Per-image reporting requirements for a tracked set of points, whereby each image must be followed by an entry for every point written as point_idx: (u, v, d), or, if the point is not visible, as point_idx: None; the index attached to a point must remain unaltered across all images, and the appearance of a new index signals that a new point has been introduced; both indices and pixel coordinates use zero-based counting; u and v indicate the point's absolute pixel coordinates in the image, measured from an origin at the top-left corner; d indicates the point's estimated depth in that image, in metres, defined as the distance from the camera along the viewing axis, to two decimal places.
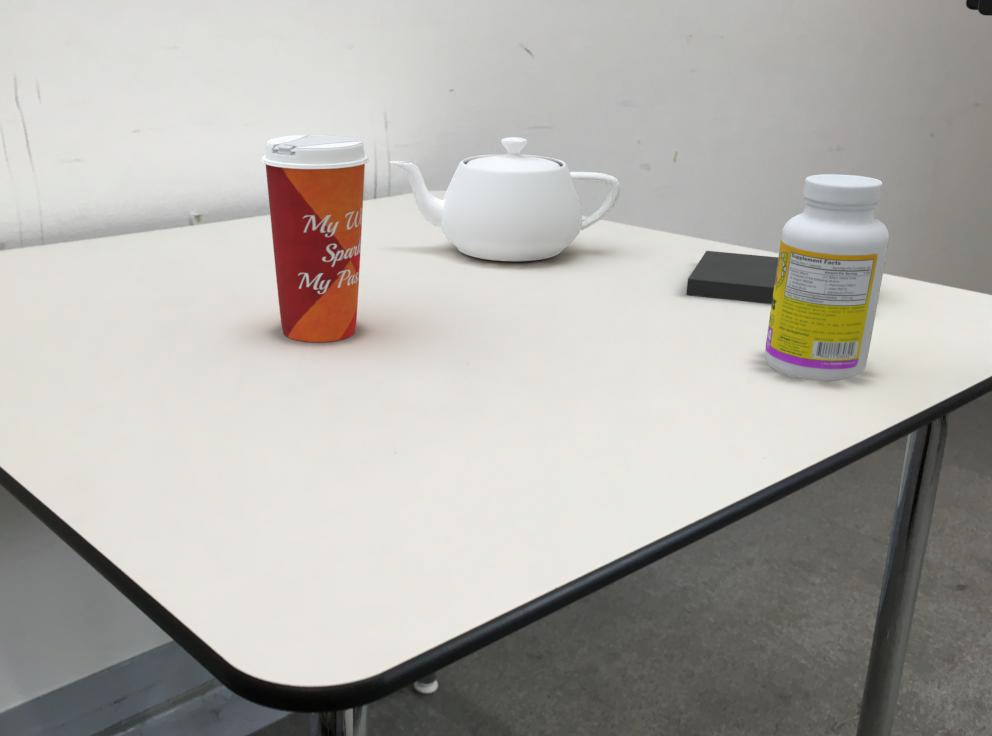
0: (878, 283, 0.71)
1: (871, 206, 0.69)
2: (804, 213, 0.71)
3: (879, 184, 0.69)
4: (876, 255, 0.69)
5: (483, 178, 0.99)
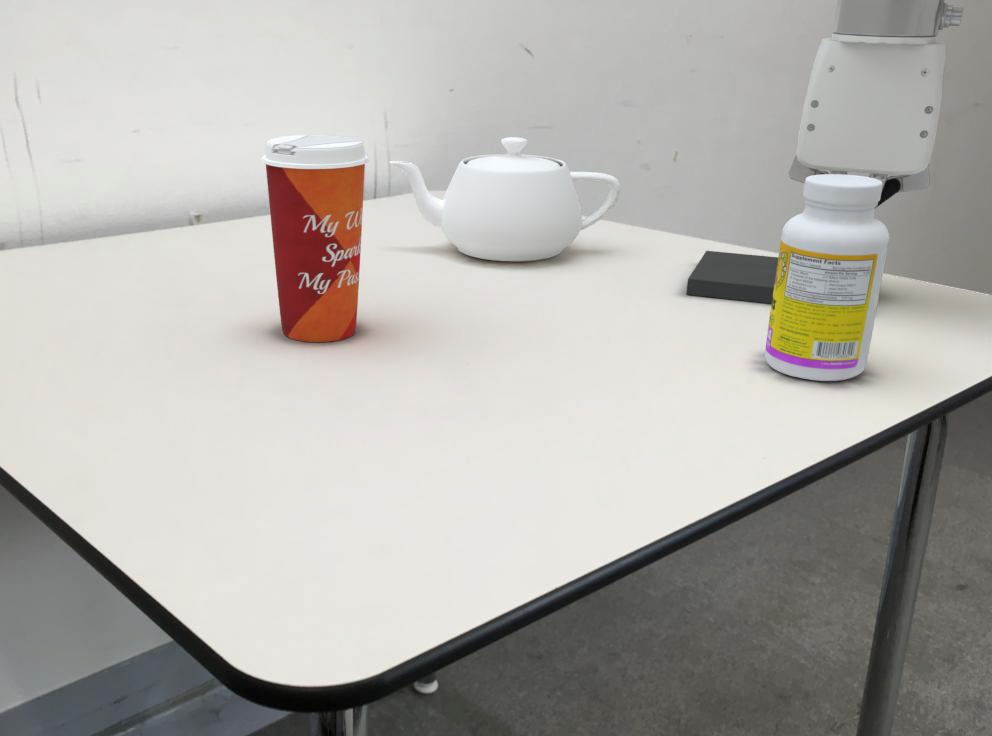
0: (878, 283, 0.71)
1: (871, 206, 0.69)
2: (804, 213, 0.71)
3: (879, 184, 0.69)
4: (876, 255, 0.69)
5: (483, 178, 0.99)
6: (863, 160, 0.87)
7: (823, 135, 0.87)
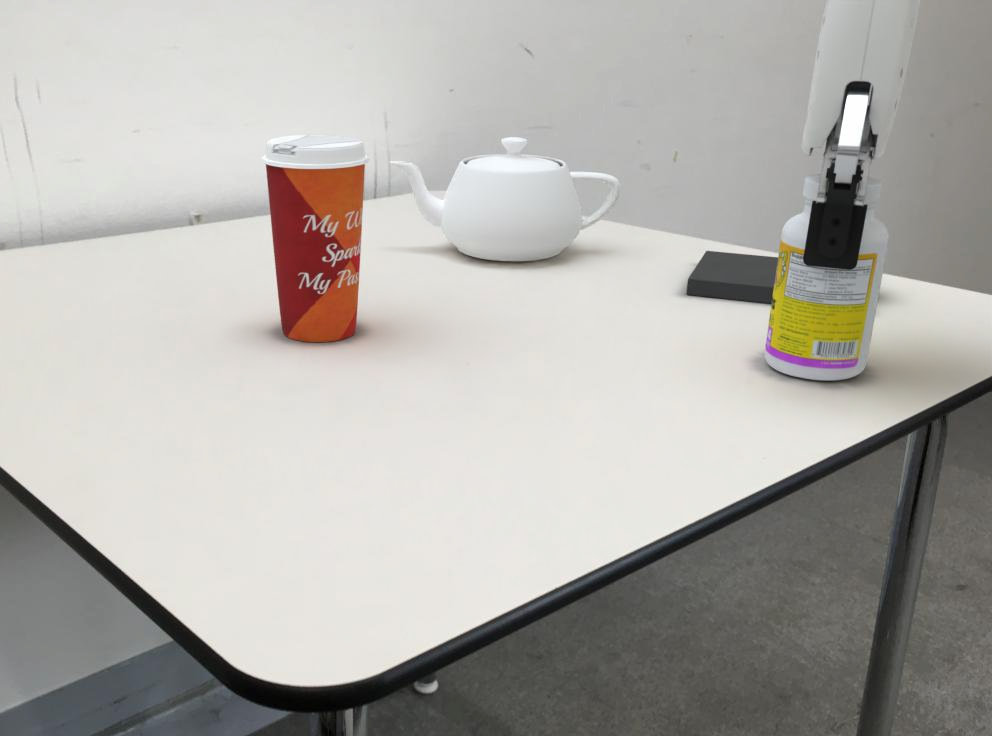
0: (878, 282, 0.71)
1: (871, 205, 0.69)
2: (804, 213, 0.72)
3: (879, 183, 0.69)
4: (876, 254, 0.70)
5: (483, 178, 0.99)
6: None
7: (895, 112, 0.65)
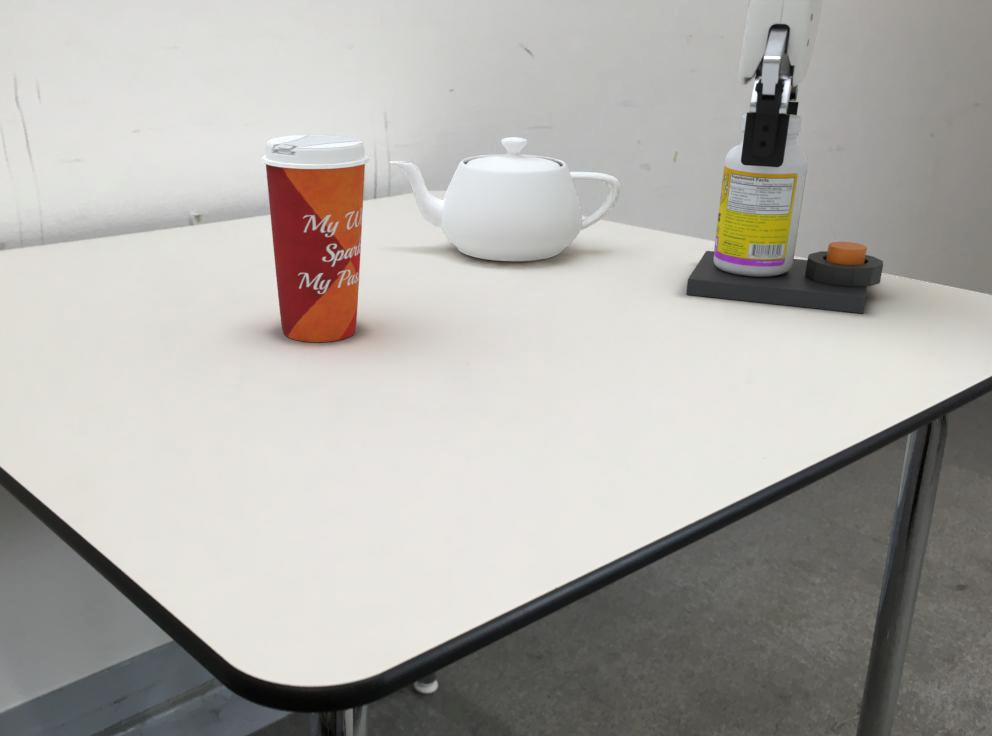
0: (799, 197, 0.90)
1: (792, 136, 0.89)
2: (741, 143, 0.91)
3: (798, 118, 0.88)
4: (796, 174, 0.89)
5: (483, 178, 0.99)
6: (807, 69, 0.88)
7: (809, 49, 0.84)
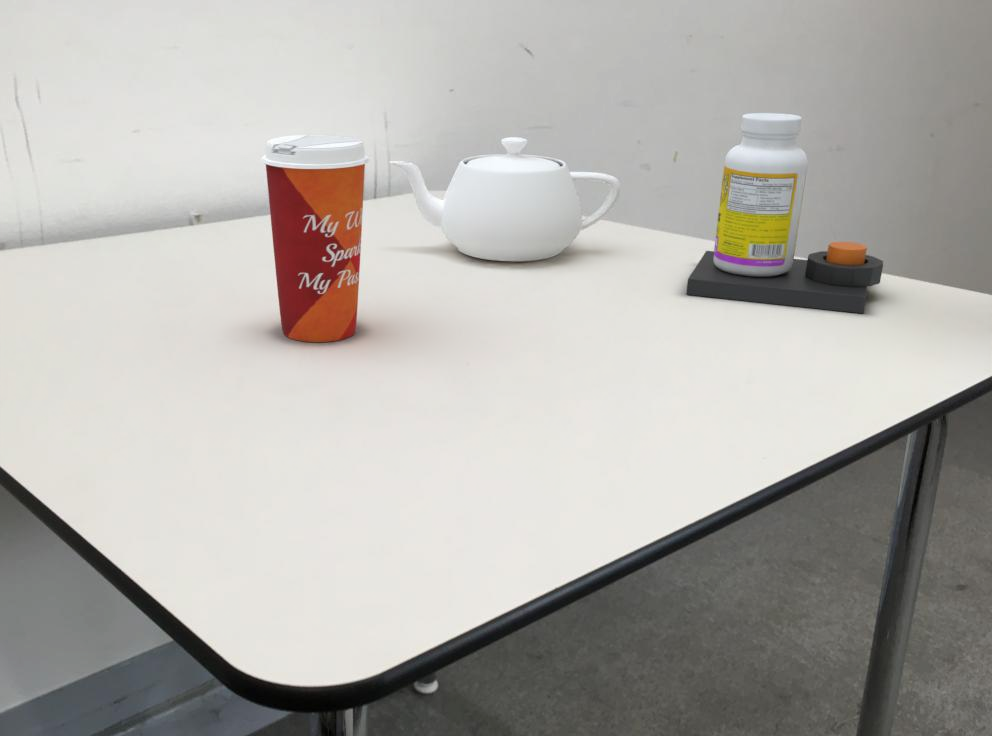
0: (799, 197, 0.90)
1: (792, 136, 0.89)
2: (741, 143, 0.91)
3: (798, 118, 0.88)
4: (796, 174, 0.89)
5: (483, 178, 0.99)
6: None
7: None
